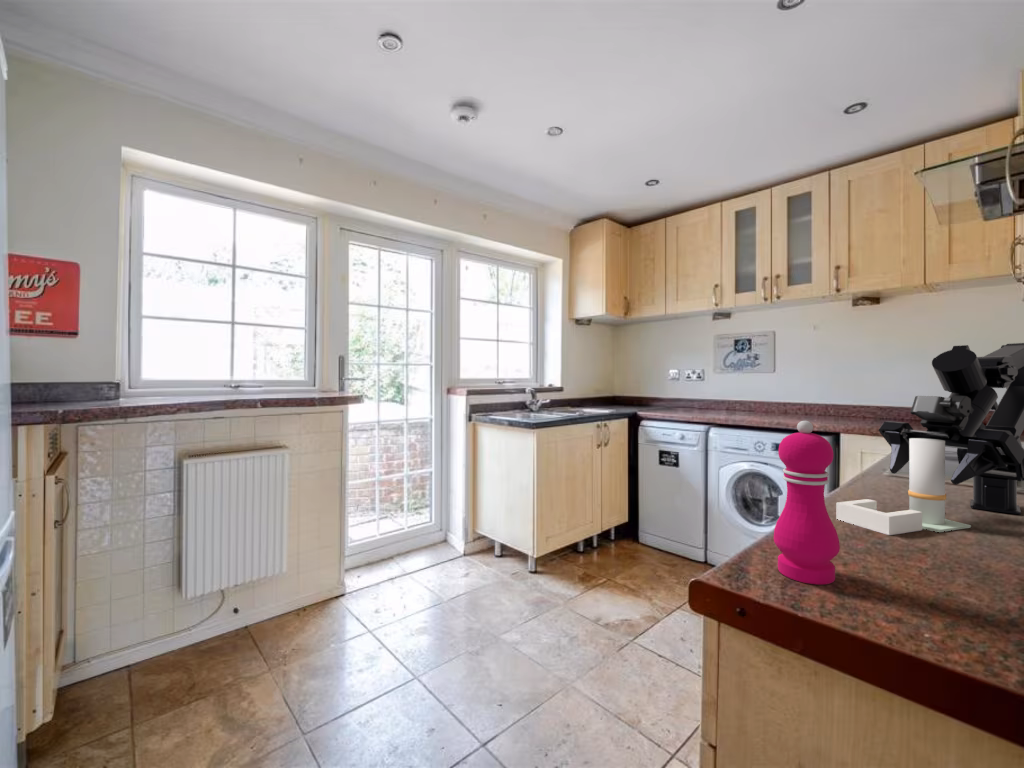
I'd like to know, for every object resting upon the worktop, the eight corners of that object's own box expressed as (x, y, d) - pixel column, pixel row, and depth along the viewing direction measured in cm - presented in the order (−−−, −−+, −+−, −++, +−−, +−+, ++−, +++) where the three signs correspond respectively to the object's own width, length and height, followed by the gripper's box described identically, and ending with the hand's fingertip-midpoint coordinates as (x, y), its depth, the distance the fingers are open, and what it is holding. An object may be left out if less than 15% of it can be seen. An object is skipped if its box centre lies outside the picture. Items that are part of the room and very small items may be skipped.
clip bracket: (867, 515, 84) (867, 498, 84) (922, 530, 76) (922, 512, 76) (836, 519, 82) (836, 502, 82) (889, 535, 74) (889, 516, 73)
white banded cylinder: (909, 514, 83) (909, 437, 83) (946, 520, 79) (947, 439, 79) (906, 520, 79) (906, 439, 79) (945, 526, 76) (945, 442, 76)
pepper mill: (849, 577, 58) (849, 420, 58) (824, 592, 54) (824, 424, 54) (789, 559, 64) (788, 417, 64) (763, 571, 60) (762, 420, 60)
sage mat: (916, 514, 84) (916, 512, 84) (970, 527, 77) (970, 525, 77) (885, 518, 82) (885, 516, 82) (937, 532, 74) (937, 530, 74)
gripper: (885, 379, 89) (842, 439, 86) (1013, 379, 71) (965, 454, 68) (913, 418, 92) (873, 477, 88) (1044, 427, 74) (999, 502, 71)
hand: (920, 477), depth 79 cm, fingers open, 9 cm apart
